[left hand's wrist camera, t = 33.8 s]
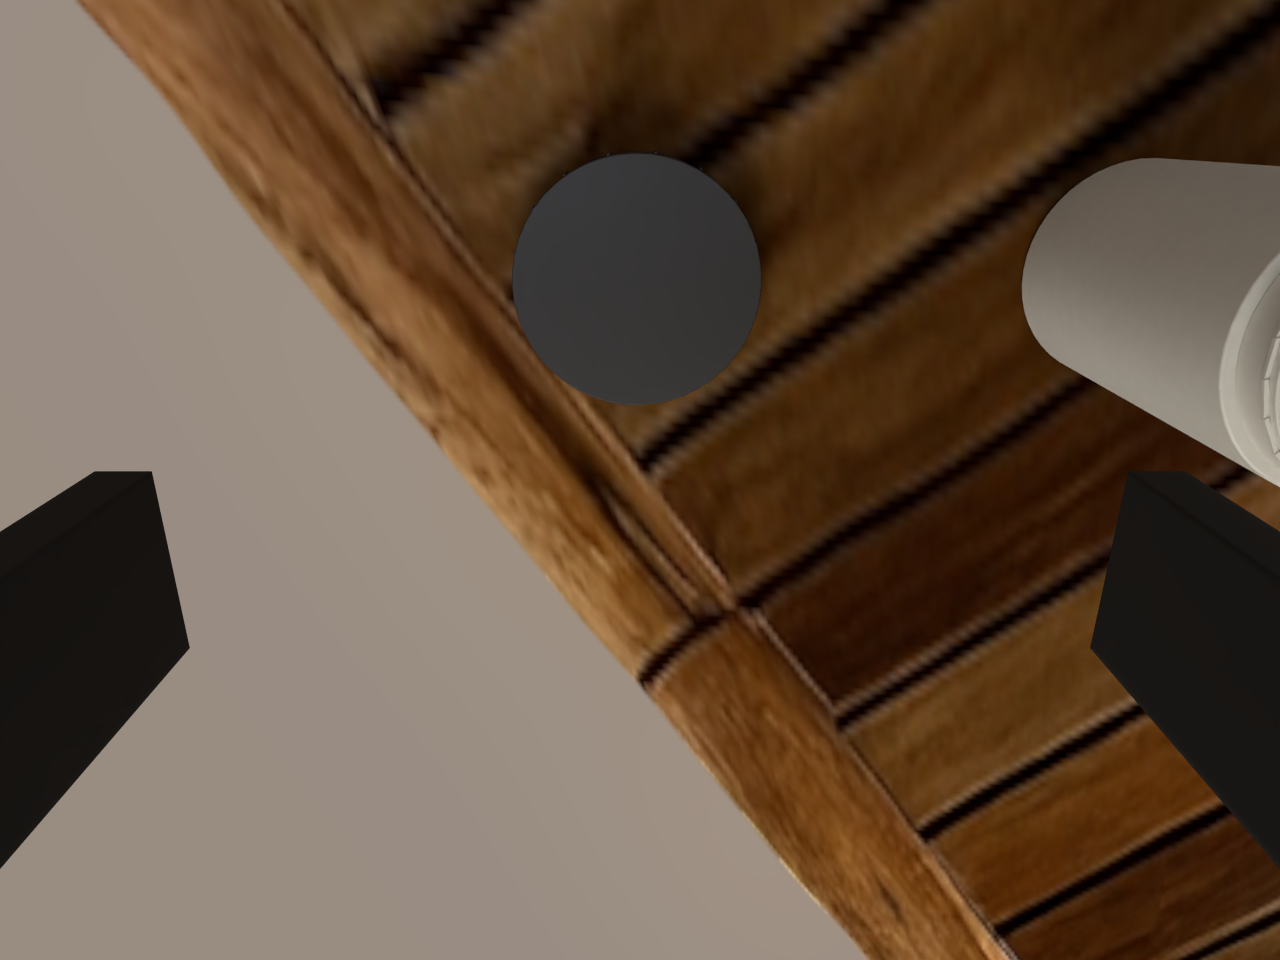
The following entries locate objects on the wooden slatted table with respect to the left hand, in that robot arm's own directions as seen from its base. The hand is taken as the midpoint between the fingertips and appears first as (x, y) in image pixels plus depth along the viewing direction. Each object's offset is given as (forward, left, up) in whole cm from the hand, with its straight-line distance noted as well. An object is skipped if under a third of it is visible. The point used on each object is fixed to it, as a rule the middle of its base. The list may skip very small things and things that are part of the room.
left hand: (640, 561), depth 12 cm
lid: (0, 0, -24) cm, 24 cm away
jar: (-15, +13, -26) cm, 32 cm away
